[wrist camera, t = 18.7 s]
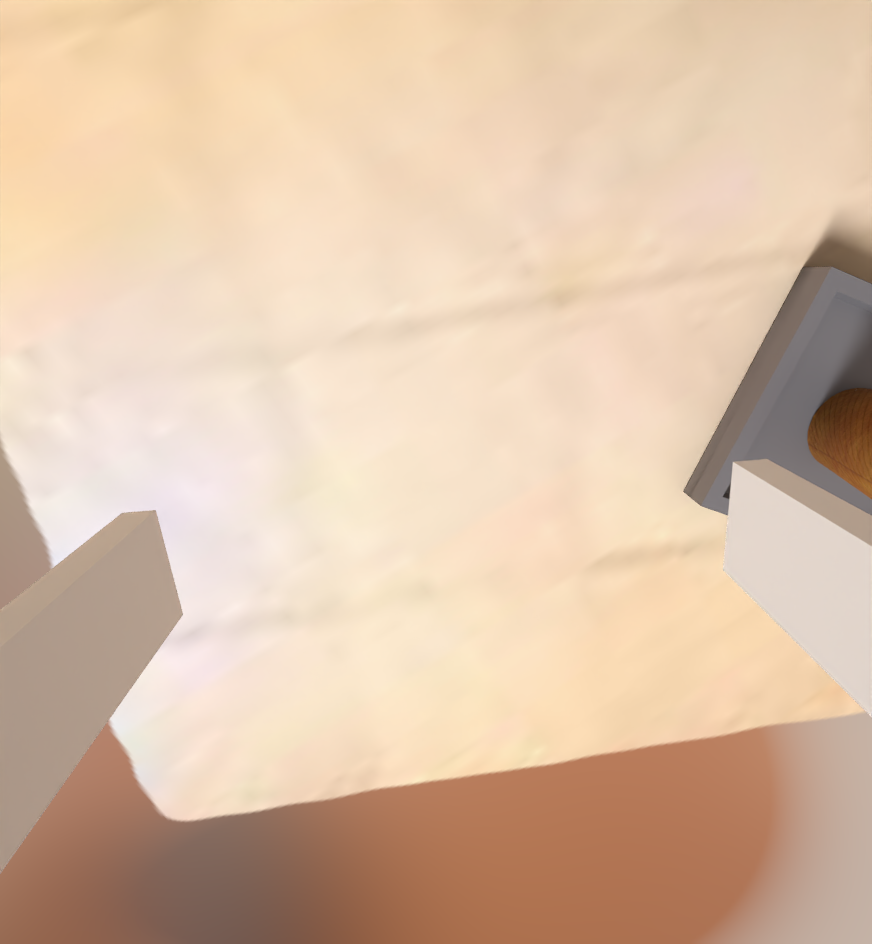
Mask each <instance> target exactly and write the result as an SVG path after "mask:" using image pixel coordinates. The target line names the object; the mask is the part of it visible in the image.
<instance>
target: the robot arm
mask: <svg viewBox="0 0 872 944" xmlns="http://www.w3.org/2000/svg"><path fill="white" fill-rule="evenodd" d="M723 571H724V572H725V573H726V574H728V575H729V576H730V577H731V578H732V579H733V580H734V581H735V582H736V583H737V584H738V585H739V586H740V587H741V588H742V589H743V590H744V591H745V592H746V593H747V594H748V595H749V596H750V597H751V598H752V599H753V600H754V601H755V602H756V603H757V604H758V605H759V606H760V607H761V608H762V609H763V610H764V611H765V612H766V613H767V614H768V615H769V616H770V617H771V618H772V619H773V620H774V621H775V622H776V623H777V624H778V625H779V626H780V627H781V628H782V629H783V630H784V631H785V632H786V633H787V634H788V635H789V636H790V637H791V638H792V639H793V640H794V641H795V642H796V643H797V644H798V645H799V646H800V647H801V648H802V649H803V650H804V651H805V652H806V653H807V654H808V655H809V656H810V657H811V658H812V659H813V660H814V661H815V662H816V663H817V664H818V665H819V666H820V667H821V668H822V669H823V670H824V671H825V672H826V673H827V674H828V675H829V676H830V677H831V678H832V679H833V680H835V681H836V682H837V683H838V684H839V685H840V686H841V687H842V688H843V689H844V690H845V691H846V692H847V693H848V694H849V695H850V696H851V697H852V698H853V699H854V700H855V701H856V702H857V703H858V704H859V705H860V706H861V707H862V708H863V709H864V710H865V711H866V712H867V713H868V714H869V715H870V716H871V717H872V516H871V515H870V514H868V513H866V512H864V511H862V510H860V509H859V508H857V507H855V506H853V505H851V504H849V503H847V502H846V501H844V500H842V499H840V498H838V497H836V496H834V495H833V494H831V493H829V492H827V491H825V490H823V489H822V488H820V487H818V486H816V485H814V484H812V483H810V482H809V481H807V480H805V479H803V478H801V477H799V476H797V475H796V474H794V473H792V472H790V471H788V470H786V469H785V468H783V467H781V466H779V465H777V464H775V463H773V462H772V461H770V460H768V459H760V460H749V461H737V462H733V466H732V477H731V488H730V499H729V510H728V521H727V531H726V542H725V553H724V564H723ZM182 615H183V613H182V609H181V605H180V601H179V598H178V594H177V590H176V586H175V582H174V579H173V575H172V571H171V567H170V563H169V559H168V556H167V552H166V548H165V544H164V540H163V537H162V533H161V529H160V525H159V521H158V517H157V514H156V510H152V511H140V512H129V513H122V514H120V515H119V516H118V517H117V518H115V519H114V520H113V521H112V522H110V523H109V524H108V525H106V526H105V527H104V528H103V529H101V530H100V531H99V532H98V533H96V534H95V535H94V536H93V537H91V538H90V539H89V540H88V541H86V542H85V543H84V544H83V545H81V546H80V547H79V548H78V549H76V550H75V551H74V552H73V553H71V554H70V555H69V556H68V557H66V558H65V559H64V560H62V561H61V562H60V563H59V564H57V565H56V566H55V567H54V568H52V569H51V570H50V571H49V572H48V573H46V574H45V575H44V576H42V577H41V578H40V579H39V580H37V581H36V582H35V583H34V584H32V585H31V586H30V587H29V588H27V589H26V590H25V591H24V592H22V593H21V594H20V595H18V596H17V597H16V598H15V599H13V600H12V601H11V602H10V603H8V604H7V605H6V606H5V607H3V608H2V609H1V610H0V873H1V872H2V870H3V869H4V868H5V866H6V865H7V863H8V862H9V860H10V859H11V858H12V856H13V855H14V853H15V852H16V850H17V849H18V847H19V846H20V845H21V844H22V842H23V841H24V839H25V838H26V836H27V835H28V834H29V832H30V831H31V829H32V828H33V827H34V825H35V824H36V822H37V821H38V819H39V818H40V817H41V815H42V814H43V812H44V811H45V809H46V808H47V807H48V805H49V804H50V802H51V801H52V800H53V798H54V797H55V795H56V794H57V792H58V791H59V790H60V788H61V787H62V785H63V784H64V782H65V781H66V780H67V778H68V777H69V775H70V774H71V773H72V771H73V770H74V768H75V767H76V765H77V764H78V763H79V761H80V760H81V758H82V757H83V756H84V754H85V753H86V751H87V750H88V748H89V747H90V746H91V744H92V743H93V741H94V740H95V738H96V737H97V736H98V734H99V733H100V731H101V730H102V728H103V727H104V726H105V724H106V723H107V722H108V720H109V719H110V717H111V716H112V714H113V713H114V712H115V710H116V709H117V707H118V706H119V705H120V703H121V702H122V700H123V699H124V697H125V696H126V695H127V693H128V692H129V690H130V689H131V688H132V686H133V685H134V683H135V682H136V680H137V679H138V678H139V676H140V675H141V673H142V672H143V670H144V669H145V668H146V666H147V665H148V663H149V662H150V661H151V659H152V658H153V656H154V655H155V653H156V652H157V651H158V649H159V648H160V646H161V645H162V644H163V642H164V641H165V639H166V638H167V636H168V635H169V634H170V632H171V631H172V629H173V628H174V627H175V625H176V624H177V622H178V621H179V619H180V618H181V617H182Z"/></svg>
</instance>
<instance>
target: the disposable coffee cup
mask: <svg viewBox="0 0 872 944" xmlns="http://www.w3.org/2000/svg"><path fill="white" fill-rule="evenodd" d="M807 441H808V446H809V450H810V452H811V454H812V456H813V457H814V458H815V459H816V460H817V461H818V462H819V463H820V464H822V465H823V466H825V467H826V468H828V469H829V470H831V471H832V472H834V473H835V474H836V475H838V476H839V477H841V478H842V479H843V480H845V481H846V482H848V483H849V484H851V485H852V486H853V487H855V488H856V489H858V490H859V491H861V492H862V493H863V494H865V495H866V496H868V497H869V498H870V499H872V389H866V388H853V389H848V390H844V391H842V392H839V393H837V394H836V395H834V396H832V397H831V398H829V399H828V400H827V401H826V402H824V403H823V404H822V405H821V407H820V408H819V409H818V410H817V411H816V413H815V415H814V416H813V418H812V420H811V423H810V425H809V429H808V436H807Z"/></svg>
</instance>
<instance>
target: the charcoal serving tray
mask: <svg viewBox="0 0 872 944" xmlns="http://www.w3.org/2000/svg"><path fill="white" fill-rule="evenodd" d="M853 388H866V389H872V284H871V283H869V282H866V281H864V280H862V279H859V278H857V277H855V276H852V275H850V274H848V273H846V272H843V271H841V270H839V269H836V268H834V267H803V268H802V270H801V272H800V274H799V276H798V278H797V279H796V281H795V283H794V285H793V287H792V289H791V291H790V293H789V295H788V296H787V298H786V300H785V302H784V304H783V306H782V308H781V310H780V311H779V313H778V315H777V317H776V319H775V321H774V323H773V325H772V326H771V328H770V330H769V332H768V334H767V336H766V338H765V340H764V341H763V343H762V345H761V347H760V349H759V351H758V353H757V355H756V356H755V358H754V360H753V362H752V364H751V366H750V368H749V370H748V371H747V373H746V375H745V377H744V379H743V381H742V383H741V385H740V386H739V388H738V390H737V392H736V394H735V396H734V398H733V400H732V401H731V403H730V405H729V407H728V409H727V411H726V413H725V415H724V416H723V418H722V420H721V422H720V424H719V426H718V428H717V430H716V431H715V433H714V435H713V437H712V439H711V441H710V443H709V445H708V446H707V448H706V450H705V452H704V454H703V456H702V458H701V460H700V461H699V463H698V465H697V467H696V469H695V471H694V473H693V475H692V476H691V478H690V480H689V482H688V484H687V486H686V488H685V490H684V493H686V494H687V495H688V496H689V497H691V498H692V499H693V500H694V501H695V502H697V503H698V504H699V505H700V506H703V507H705V508H708V509H711V510H714V511H717V512H720V513H722V514H725V515H728V510H729V499H730V488H731V477H732V466H733V462H737V461H749V460H760V459H768V460H770V461H772V462H773V463H775V464H777V465H779V466H781V467H783V468H785V469H786V470H788V471H790V472H792V473H794V474H796V475H797V476H799V477H801V478H803V479H805V480H807V481H809V482H810V483H812V484H814V485H816V486H818V487H820V488H822V489H823V490H825V491H827V492H829V493H831V494H833V495H834V496H836V497H838V498H840V499H842V500H844V501H846V502H847V503H849V504H851V505H853V506H855V507H857V508H859V509H860V510H862V511H864V512H866V513H868V514H870V515H871V516H872V499H870V498H869V497H868V496H866V495H865V494H863V493H862V492H861V491H859V490H858V489H856V488H855V487H853V486H852V485H851V484H849V483H848V482H846V481H845V480H843V479H842V478H841V477H839V476H838V475H836V474H835V473H834V472H832V471H831V470H829V469H828V468H826V467H825V466H823V465H822V464H820V463H819V462H818V461H817V460H816V459H815V458H814V457H813V456H812V454H811V452H810V450H809V446H808V441H807V436H808V429H809V425H810V423H811V420H812V418H813V416H814V415H815V413H816V411H817V410H818V409H819V408H820V407H821V405H822V404H823V403H824V402H826V401H827V400H828V399H829V398H831V397H832V396H834V395H836V394H837V393H839V392H842V391H844V390H848V389H853Z"/></svg>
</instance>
